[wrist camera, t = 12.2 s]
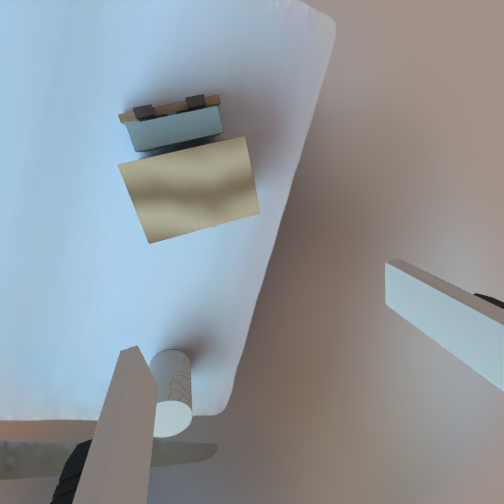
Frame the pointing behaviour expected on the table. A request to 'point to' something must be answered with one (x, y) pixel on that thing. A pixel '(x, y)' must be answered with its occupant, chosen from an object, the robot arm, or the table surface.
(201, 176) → the cabinet
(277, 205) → the table surface
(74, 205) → the table surface
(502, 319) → the robot arm
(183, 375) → the cup
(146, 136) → the door
